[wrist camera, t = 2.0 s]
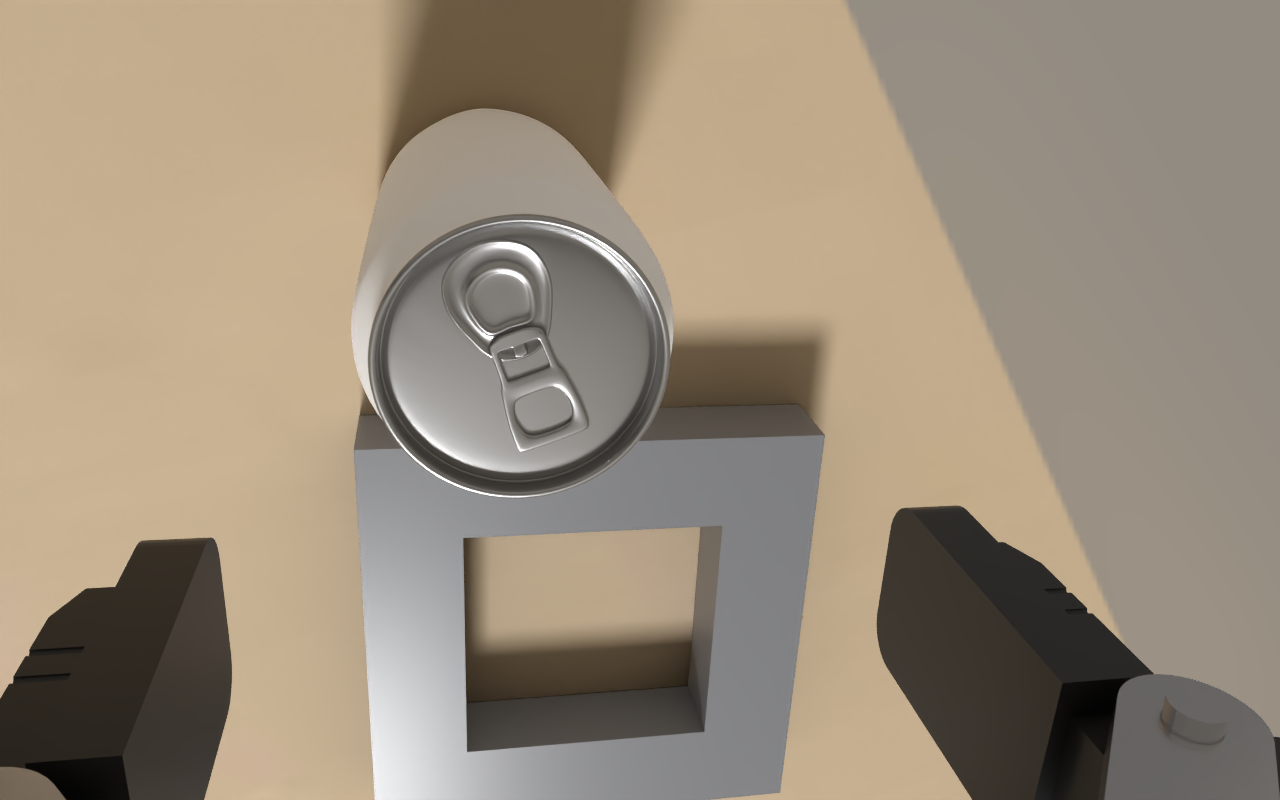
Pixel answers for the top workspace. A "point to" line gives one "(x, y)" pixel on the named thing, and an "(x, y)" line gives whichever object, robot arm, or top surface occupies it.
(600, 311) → the can
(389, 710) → the socket plate
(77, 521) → the top surface
